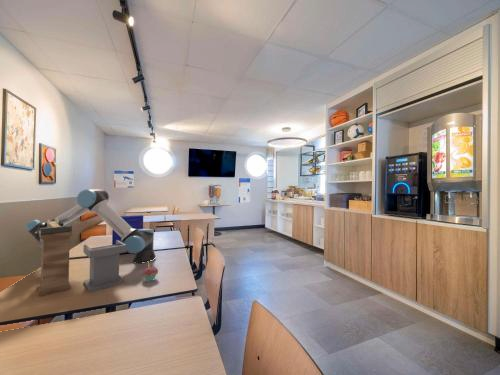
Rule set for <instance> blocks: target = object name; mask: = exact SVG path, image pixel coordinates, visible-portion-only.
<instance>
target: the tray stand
mask: <svg viewBox="0 0 500 375" xmlns="http://www.w3.org/2000/svg"><path fill="white" fill-rule="evenodd" d="M123 252H126V244H124V243H122V242H120V241H119V240H116V244H115V245H112V244H110V245H104V246H98V247H91V248H90V247H89V246H88V245H87V244H84V245H83V253H84V255H85V256H87V258H88V259H89V278H88V279H84V280H83V285H84V286H85V287H86V289H87V291H88V292H90V293H93V292H96V291H99V290H104V289H106V288H107V289H108V288H110V287H114V286H118V285H121V284H124V283H125V279H124V278H123V277H122V276H121V275H120V254H119V253H122V254H124V253H123Z"/></svg>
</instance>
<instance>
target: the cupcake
mask: <svg viewBox="0 0 500 375" xmlns="http://www.w3.org/2000/svg"><path fill="white" fill-rule="evenodd" d="M141 272H142V276H143V277H144V280H145V282H151V281H150V280H153V279H154V280H155V279H156V276H157V274H158V273H159V269H158V268H157V267H154V266H150V262H148V263H147V268H144V269H143V270H142V271H141ZM154 280H153V281H154Z"/></svg>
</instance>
